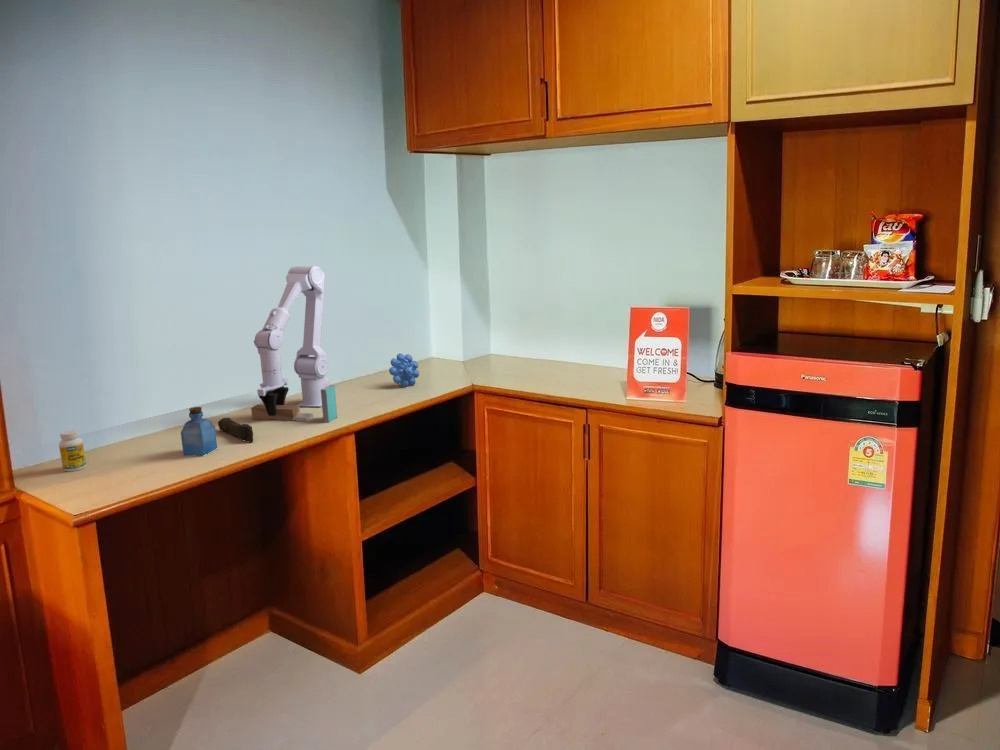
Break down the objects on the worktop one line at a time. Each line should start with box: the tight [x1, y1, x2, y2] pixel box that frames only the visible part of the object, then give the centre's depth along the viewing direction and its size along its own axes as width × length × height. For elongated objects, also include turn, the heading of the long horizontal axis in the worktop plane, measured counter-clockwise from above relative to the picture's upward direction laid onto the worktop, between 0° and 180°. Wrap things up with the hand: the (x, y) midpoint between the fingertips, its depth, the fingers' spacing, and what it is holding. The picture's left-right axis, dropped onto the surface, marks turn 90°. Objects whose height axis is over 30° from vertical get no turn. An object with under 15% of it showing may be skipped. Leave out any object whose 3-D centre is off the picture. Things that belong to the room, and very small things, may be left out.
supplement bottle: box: [58, 429, 87, 472], centre depth 208 cm, size 5×5×10 cm
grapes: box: [388, 353, 420, 388], centre depth 281 cm, size 12×7×12 cm, turn 128°
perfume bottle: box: [180, 406, 218, 456], centre depth 217 cm, size 6×6×12 cm
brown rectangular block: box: [250, 404, 314, 422], centre depth 249 cm, size 5×18×4 cm, turn 75°
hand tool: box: [217, 417, 254, 443], centre depth 232 cm, size 19×4×5 cm, turn 38°
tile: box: [321, 384, 338, 424], centre depth 244 cm, size 6×2×10 cm, turn 165°
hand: (275, 413), depth 250 cm, fingers closed on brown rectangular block, 4 cm apart
